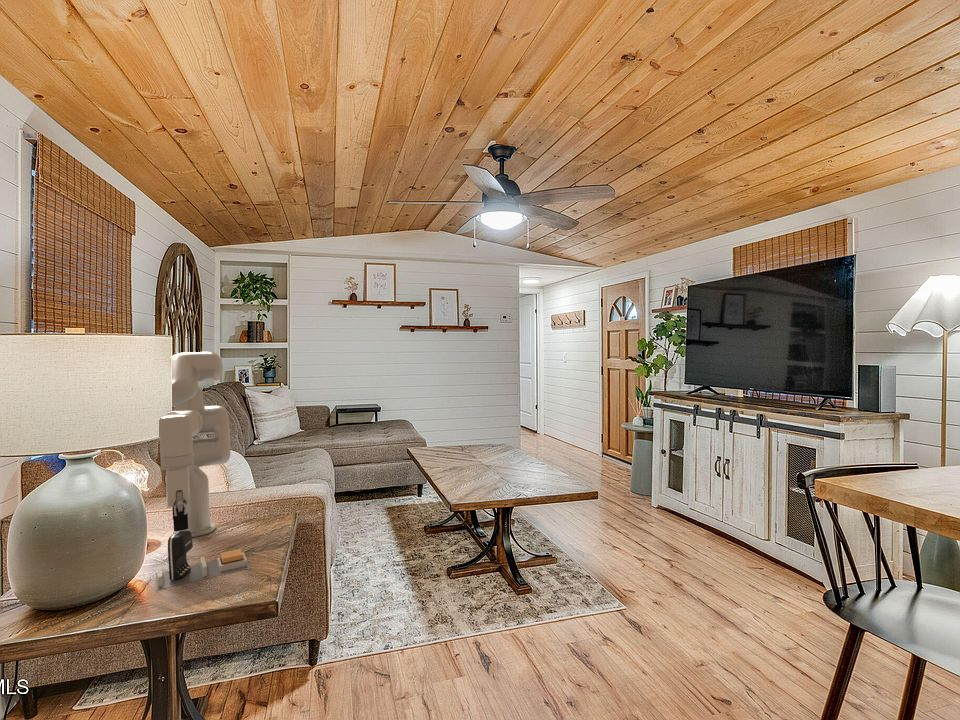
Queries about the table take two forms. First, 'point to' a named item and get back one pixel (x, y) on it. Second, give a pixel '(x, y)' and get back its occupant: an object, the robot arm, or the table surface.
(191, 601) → the table surface
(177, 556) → the battery charger
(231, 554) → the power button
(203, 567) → the charging dock
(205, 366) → the robot arm
